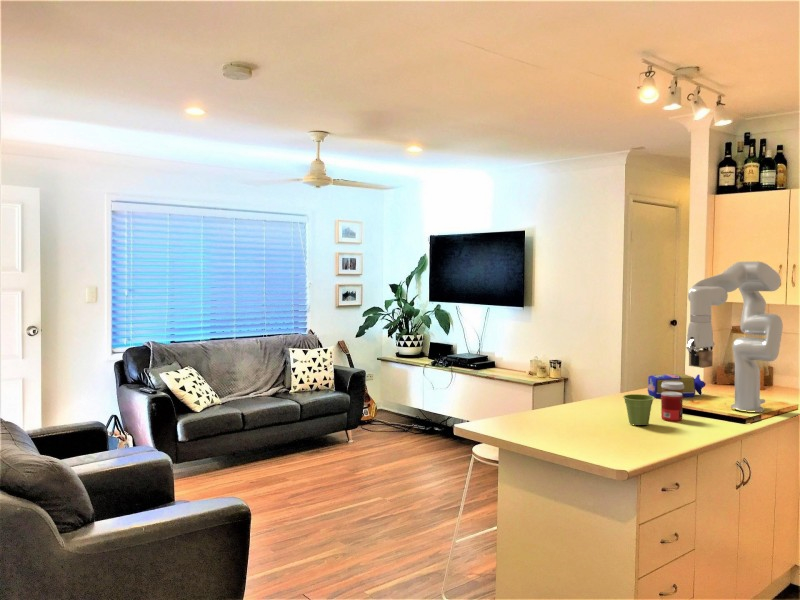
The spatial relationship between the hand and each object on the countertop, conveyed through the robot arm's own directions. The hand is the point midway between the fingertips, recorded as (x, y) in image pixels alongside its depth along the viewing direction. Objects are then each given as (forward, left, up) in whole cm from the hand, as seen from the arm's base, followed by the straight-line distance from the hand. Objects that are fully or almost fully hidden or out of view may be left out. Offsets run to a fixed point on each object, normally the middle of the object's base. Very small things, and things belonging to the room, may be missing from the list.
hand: (700, 364), depth 249 cm
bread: (-36, -41, -25) cm, 60 cm away
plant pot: (+19, -14, -25) cm, 34 cm away
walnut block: (0, 0, -1) cm, 1 cm away
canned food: (+2, -12, -25) cm, 27 cm away
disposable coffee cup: (-12, -23, -25) cm, 36 cm away
